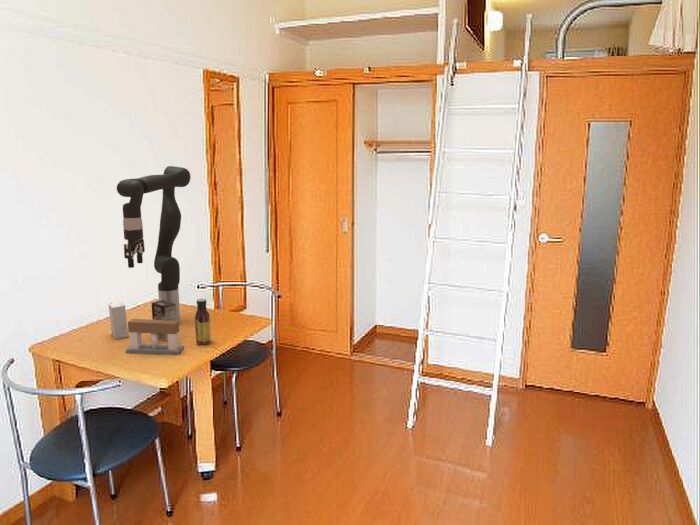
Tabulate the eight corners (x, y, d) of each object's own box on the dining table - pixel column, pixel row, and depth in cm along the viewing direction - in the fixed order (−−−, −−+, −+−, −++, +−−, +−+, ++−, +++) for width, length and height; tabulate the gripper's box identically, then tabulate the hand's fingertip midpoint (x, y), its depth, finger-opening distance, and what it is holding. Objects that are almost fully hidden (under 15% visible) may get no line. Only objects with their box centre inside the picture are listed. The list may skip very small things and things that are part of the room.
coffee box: (152, 337, 241) (150, 302, 237) (164, 333, 246) (162, 299, 243) (165, 341, 236) (163, 306, 232) (177, 337, 241) (175, 303, 238)
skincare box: (128, 337, 240) (126, 305, 237) (114, 339, 237) (111, 307, 234) (124, 331, 247) (122, 300, 244) (110, 334, 244) (108, 302, 241)
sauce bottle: (197, 340, 238) (195, 297, 234) (211, 340, 239) (210, 297, 235) (194, 345, 232) (192, 301, 228) (209, 345, 232) (207, 301, 228)
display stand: (133, 346, 229) (132, 327, 227) (183, 348, 228) (183, 329, 226) (125, 352, 222) (124, 333, 221) (178, 354, 221) (177, 335, 220)
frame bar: (133, 328, 226) (132, 318, 225) (179, 330, 225) (178, 320, 224) (128, 332, 222) (127, 321, 221) (175, 334, 221) (174, 323, 220)
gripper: (131, 225, 233) (134, 261, 236) (116, 230, 219) (119, 268, 222) (148, 225, 232) (151, 262, 236) (134, 230, 219) (137, 269, 222)
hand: (135, 265), depth 229 cm, fingers open, 8 cm apart
